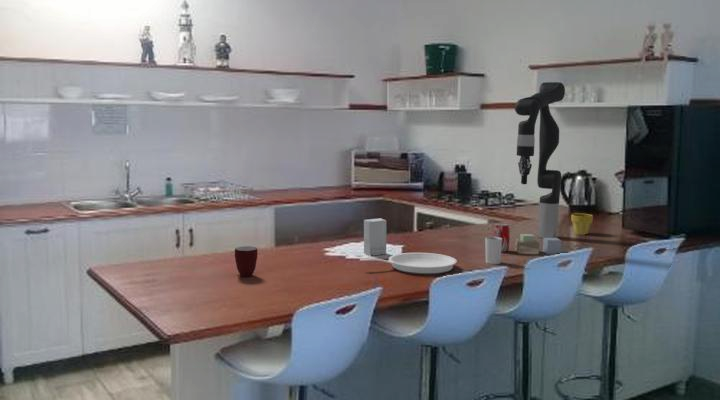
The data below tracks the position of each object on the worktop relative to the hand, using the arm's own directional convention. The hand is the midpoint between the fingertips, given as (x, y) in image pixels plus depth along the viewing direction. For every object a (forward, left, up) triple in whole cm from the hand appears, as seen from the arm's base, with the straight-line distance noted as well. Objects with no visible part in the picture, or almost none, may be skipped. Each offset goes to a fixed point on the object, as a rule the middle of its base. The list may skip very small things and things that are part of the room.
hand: (523, 184), depth 293 cm
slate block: (+9, +11, -29) cm, 32 cm away
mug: (+53, -117, -29) cm, 132 cm away
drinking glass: (+30, -20, -29) cm, 46 cm away
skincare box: (+15, -67, -29) cm, 75 cm away
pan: (+41, -56, -30) cm, 75 cm away
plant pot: (-38, +42, -29) cm, 64 cm away
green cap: (+9, 0, -26) cm, 28 cm away
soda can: (+7, -11, -29) cm, 32 cm away
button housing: (+9, 0, -29) cm, 30 cm away
